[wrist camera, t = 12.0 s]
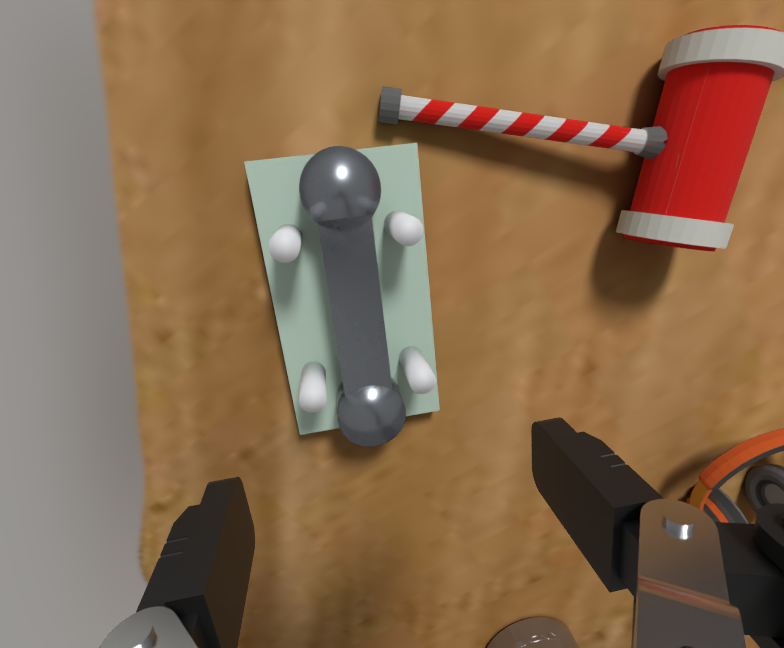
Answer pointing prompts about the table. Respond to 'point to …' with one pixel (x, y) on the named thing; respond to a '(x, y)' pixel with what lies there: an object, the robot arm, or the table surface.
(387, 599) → the table surface
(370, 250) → the grey ball-ended rod
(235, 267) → the table surface
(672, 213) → the toy hammer
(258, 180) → the tool rack
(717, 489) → the headphones
